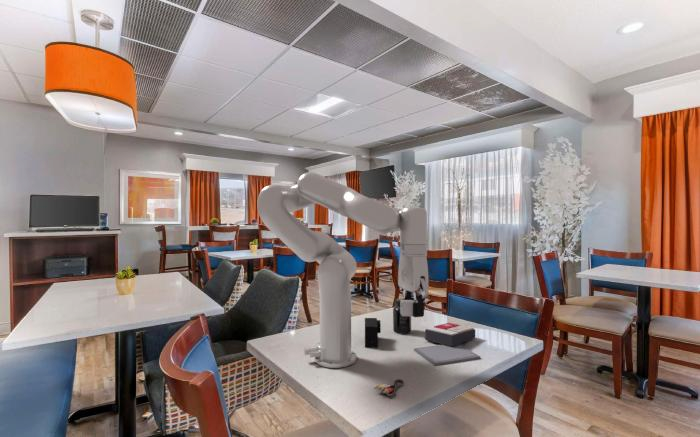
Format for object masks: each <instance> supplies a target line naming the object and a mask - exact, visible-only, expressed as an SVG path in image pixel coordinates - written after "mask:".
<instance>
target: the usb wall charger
mask: <svg viewBox="0 0 700 437" xmlns="http://www.w3.org/2000/svg"><path fill="white" fill-rule="evenodd" d="M413 302H414V300H400V313H401V315H402V316H411V317H413ZM424 309H426V306H425V305H424Z"/></svg>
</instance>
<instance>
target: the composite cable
mask: <svg viewBox="0 0 700 437" xmlns="http://www.w3.org/2000/svg"><path fill="white" fill-rule="evenodd" d="M398 383H399V384H398ZM404 384H405V382H404V380H403V379H398V378H397V379H395V380H394V383H393V384H392V385H389V384H387V383H386V384H385V383H379V384H376V385H375V386H372V387H373V388H372V389H374V390H380V392H379V395H380V396H382V395H385V396H386V397H387V399H392V398H394V397H395V396H396V391H397V390H398V389H400V388H401V387H402V386H404Z"/></svg>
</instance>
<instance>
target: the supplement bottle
mask: <svg viewBox="0 0 700 437" xmlns="http://www.w3.org/2000/svg"><path fill="white" fill-rule="evenodd" d="M400 300H404V298H396V299H395V305H394V307H393V308H392V328H393V332H394V333H395V334H399V335H408V334H410V333H411V332H412V316H402V315H401V313H400Z"/></svg>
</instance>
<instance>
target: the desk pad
mask: <svg viewBox="0 0 700 437" xmlns="http://www.w3.org/2000/svg"><path fill="white" fill-rule="evenodd" d="M413 351H414V352H416V354H418V355H419V356H421V357H422V358H424V359H425V360H426V361H428V362H429V363H430V364H431V365H433V366H441V365H447V364H448V365H449V364H452V363H453V364H454V363H455V364H456V363H461V362H467V361H473V360H474V361H475V360H479V359H481V356H480V355H479V354H477V353H476V352H473V351H472V350H469V348H468V349H467V348H466V347H465V346H462V345H461V344H459V345H457V346H454V347H451V346H448V345H444V344H439V345H438V344H437V345H432V346H431V345H430V346H424V347H416V348H413Z"/></svg>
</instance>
